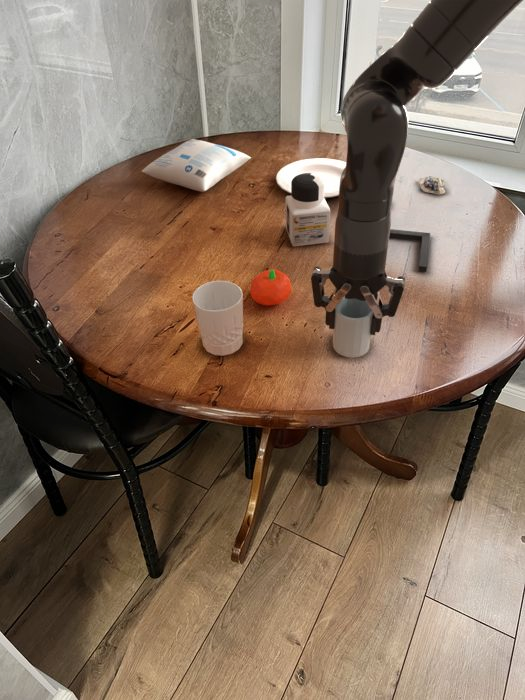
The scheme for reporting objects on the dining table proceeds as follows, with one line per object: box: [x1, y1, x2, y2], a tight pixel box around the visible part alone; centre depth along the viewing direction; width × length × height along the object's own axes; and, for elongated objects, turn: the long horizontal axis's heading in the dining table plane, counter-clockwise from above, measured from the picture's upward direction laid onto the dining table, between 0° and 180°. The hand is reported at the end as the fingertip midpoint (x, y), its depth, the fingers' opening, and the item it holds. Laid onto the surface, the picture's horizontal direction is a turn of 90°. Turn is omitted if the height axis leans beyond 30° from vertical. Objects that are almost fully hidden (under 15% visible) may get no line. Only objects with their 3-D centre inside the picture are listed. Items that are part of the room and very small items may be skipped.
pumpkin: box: [249, 268, 292, 306], centre depth 97 cm, size 7×8×6 cm
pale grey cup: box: [332, 297, 374, 359], centre depth 87 cm, size 6×6×8 cm
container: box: [285, 173, 331, 248], centre depth 110 cm, size 8×8×13 cm
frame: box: [389, 228, 431, 273], centre depth 109 cm, size 14×12×1 cm
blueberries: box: [418, 175, 446, 196], centre depth 127 cm, size 7×8×2 cm
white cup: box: [191, 280, 244, 357], centre depth 88 cm, size 8×8×10 cm
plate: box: [275, 157, 346, 199], centre depth 131 cm, size 21×21×2 cm
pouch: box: [141, 138, 252, 193], centre depth 133 cm, size 8×19×20 cm
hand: (352, 328), depth 87 cm, fingers closed on pale grey cup, 6 cm apart
